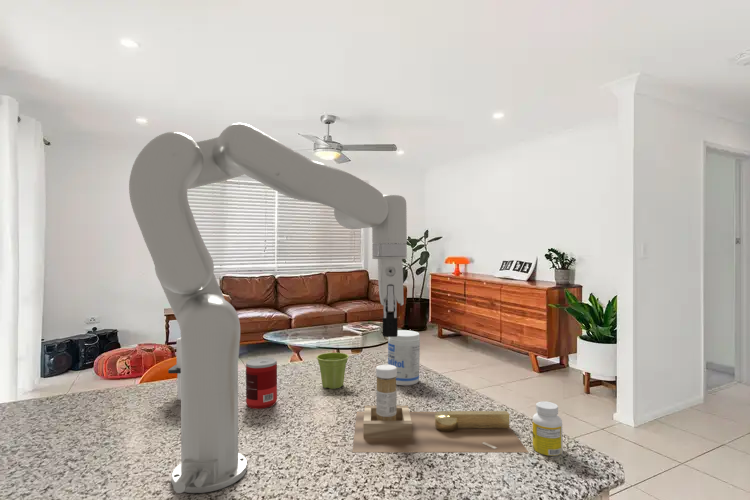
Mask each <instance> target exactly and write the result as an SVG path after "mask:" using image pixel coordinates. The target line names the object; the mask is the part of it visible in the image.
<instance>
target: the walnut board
mask: <svg viewBox="0 0 750 500" xmlns="http://www.w3.org/2000/svg"><path fill="white" fill-rule="evenodd" d="M409 412H410V417H411V422H412V438H363V423H364V411H356V416H355V423H354V424H355V425H354V433H353V441H352V451H351V452H352V453H529V451H528V449H527V448H526V447H525V445H524V444H523V443H522V441H521V440H520V438H519V437H518V436H517V434H516V433H515V431H514V430H513V429H512V428H511V427H510V426H509V428H458V429H457V430H454V431H442V430H439V429H437V428H436V427H435V413H437V412H438V411H409Z"/></svg>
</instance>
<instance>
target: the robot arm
mask: <svg viewBox="0 0 750 500" xmlns="http://www.w3.org/2000/svg"><path fill="white" fill-rule="evenodd" d="M129 175H130V176H129V180H128V191H129V192H128V193H129V200H130V204H131V209H132V211H133V214H134V218H135V219H136V222H137V225H138V227H139V230H140V232H141V234H142V238H143V240H144V243H145V244H146V245H145V246H146V247H147V250H148V251H149V254H150V257H151V258H152V259H151V260H152V261H153V264H154V271H155V274H156V277H157V279H158V282H159V283H160V285H161V288H162V290H163V292H164V294H165V296H166V299H167V301H168V303H169V306H170V308H171V310H172V313H173V315H174V317H175V319H176V322H177V324H178V326H179V329H180V330H179V331H180V337H181V399H180V435H181V436H180V460H181V461H180V463H179V464H178V465H177V466H176V467H175V468H174V469H173V471H172V472H171V479H170V480H171V485H172V487H173V490H174V492H175V493H177V494H182V493H187V494H188V493H190V494H203V493H210V492H215V491H219V490H222V489H225V488H227V487H230V486H231V485H233V484H235V483H236V482H238V481H239V480H240V479H242V478H243V477H244V476H245V474H246V473H247V470H248V460H247V458H246V457H245V456H244V455H243V454H241V453H239V354H240V342H241V324H240V323H241V322H240V318H239V314H238V312H237V310H236V309H235V307H234V306H233V304H231V303H230V302H229V301H227V300H226V299H225V297H224V295H223V292H222V290H221V287H220V286H219V285H220V284H219V283H218V281H217V278H216V276H215V273H214V272H215V271H214V270H215V269H214V268H215V265H214V260H213V256H212V255H211V253H210V252H209V250H208V248H207V246H206V244H205V242H204V239H203V236H202V235H201V233H200V230H199V228H198V226H197V222H196V219H195V217H194V215H193V212H192V210H191V207H190V204H189V199H188V198H189V196H188V190H190V189H194V188H198V187H204V186H207V185H211V184H216V183H220V182H223V181H227V180H230V179H234V178H237V177H241V176H247V177H249V178H250V179H253V180H254V181H256V182H259V183H261V184H263V185H264V186H266V187H269V188H271V189H272V190H273V191H276V192H278V193H279V194H282V195H283V196H285V197H287V198H290V199H294V200H298V201H305V202H311V203H318V204H320V205H325V206H327V207H330V208H332V209H333V210H334V211H333V214H334V218H335V220H336V222H337V224H339V225H340V226H342V227H344V228H346V229H350V230H359V229H366V228H367V229H369V228H370V229H371V231H372V232H371V233H372V235H371V237H372V238H371V240H372V243H371V244H372V245H371V246H372V247H371V248H372V249H371V251H372V254H371V255H372V259H373V260H377V276H378V277H377V281H378V282H377V283H378V295H379V300H380V304H381V306H383V317H382V336H383V338H388V337H397V335H398V330H399V329H398V316H397V303H398V304H399V305H400V306H403V305H404V304H405V303H404V301H405V300H404V271H403V270H404V267H403V260H407V258H408V257H407V255H408V253H407V252H408V251H407V250H408V248H407V247H408V245H407V243H408V240H407V236H408V235H407V231H408V230H407V218H408V217H407V216H408V215H407V214H408V213H407V200H406V198H405V197H404V196H402V195H399V194H383V193H382V192H381V191H380V190H378V189H377V188H376V187H374V186H372V185H370V184H369V183H367V182H366V181H364V180H363V179H361V178H359V177H357V176H356V175H353V174H352V173H349V172H347V171H345V170H341V169H339V168H336V167H334V166H330V165H327V164H325V163H323V162H320V161H316V160H313V159H311V158H308V157H306V156H305V155H303V154H301V153H299V152H297V151H295V150H294V149H293V148H291V147H289V146H287V145H285V144H284V143H282V142H280V141H279V140H277V139H275V138H273V137H271V136H270V135H269V134H267V133H265V132H263V131H261V130H260V129H258V128H256V127H254V126H253V125H250V124H247V123H243V122H235V123H232V124H230V125H228V126H227V127H226V128H225V129H224V130H222V132H220V134H219V135H218V136H217V137H214V138H210V139H206V140H201V141H200V140H199V141H195V140H194V139H193V138H192V137H191V136H189V135H187V134H185V133H183V132H179V131H168V132H167V131H166V132H164V133H161V134H158V135H157V136H155V137H154V138H153V139H151V140H150V141H149V142H148V143H147V144H146V145H145V146H144V147H143V148H142V149H141V151H140V152H139V154H137V157H136V158H135V160H134V163H133V165H132V167H131V170H130V174H129Z"/></svg>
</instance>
